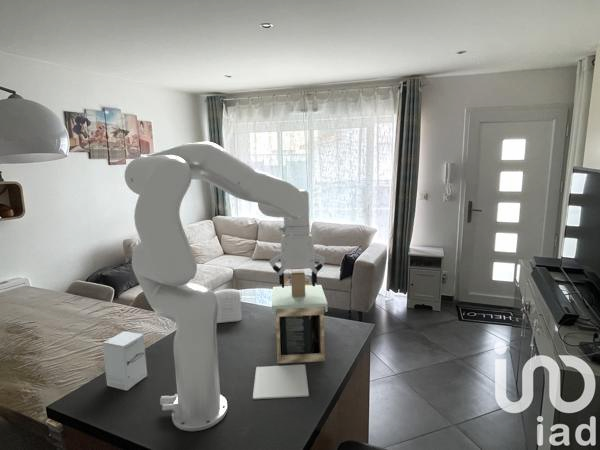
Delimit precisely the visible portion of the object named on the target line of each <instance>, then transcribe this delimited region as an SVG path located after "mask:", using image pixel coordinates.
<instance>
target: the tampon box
mask: <svg viewBox="0 0 600 450" xmlns="http://www.w3.org/2000/svg"><path fill="white" fill-rule="evenodd" d="M281 337H282V339H281V355H295V354H314V351H315V348H316V344H317V338H316V315H306V316H283V317H281Z"/></svg>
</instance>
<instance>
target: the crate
mask: <svg viewBox="0 0 600 450" xmlns="http://www.w3.org/2000/svg"><path fill="white" fill-rule="evenodd" d="M306 315H316V344H317V345H318V353H315V352H314V353H313V354H295V355H282V337H281V317H283V316H306ZM275 328H276V329H275V331H276V334H275V335H276V355H277V356H276V358H277V361H276V363H277V364H293V363H294V364H296V363H312V362H325V359H326V358H325V356H326V354H325V309H324V307H309V308H286V309H275Z"/></svg>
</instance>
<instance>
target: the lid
mask: <svg viewBox="0 0 600 450" xmlns="http://www.w3.org/2000/svg"><path fill="white" fill-rule="evenodd" d="M290 273H291V285H292V286H284V288H282V286H280V285H279V286H273V287H272V296H271V297H272V298H271V311H272V313H271V314H272V315H275V313H276V310H275V309H286V308H309V307H324V313H326V312H328V308H329V307H328V301H327V298H326V295H325V292H324V289H323V286H322V284H316V285H315V286H312V285H305V277H306V276H305V275H306V273H305V270H290Z"/></svg>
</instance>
